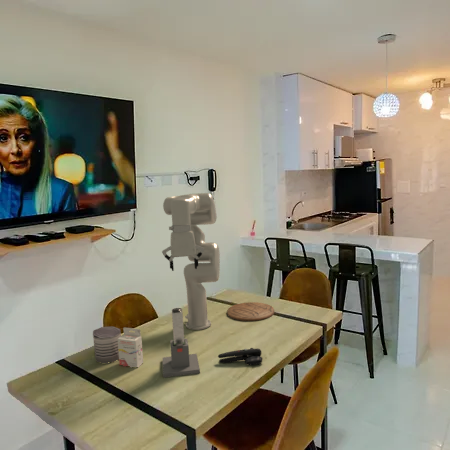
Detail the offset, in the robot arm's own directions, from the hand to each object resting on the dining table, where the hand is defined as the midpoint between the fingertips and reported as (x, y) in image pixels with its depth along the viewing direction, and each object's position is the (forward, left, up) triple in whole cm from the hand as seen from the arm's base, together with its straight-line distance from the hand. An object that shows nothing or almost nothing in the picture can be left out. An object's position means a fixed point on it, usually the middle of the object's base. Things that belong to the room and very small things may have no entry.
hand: (184, 269), depth 173 cm
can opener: (+23, +8, -37) cm, 44 cm away
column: (+8, -11, -29) cm, 32 cm away
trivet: (-12, +52, -37) cm, 65 cm away
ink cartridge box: (-9, -23, -36) cm, 44 cm away
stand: (+8, -11, -36) cm, 39 cm away
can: (-22, -26, -36) cm, 50 cm away
